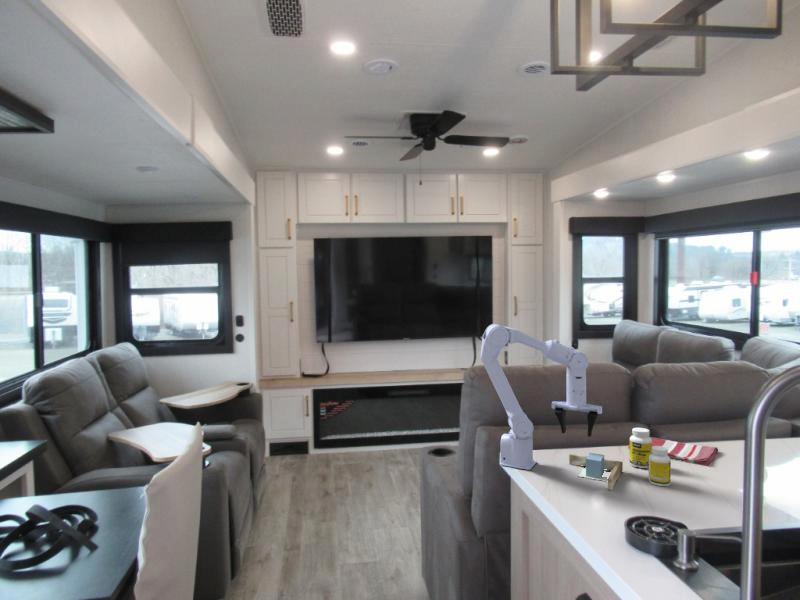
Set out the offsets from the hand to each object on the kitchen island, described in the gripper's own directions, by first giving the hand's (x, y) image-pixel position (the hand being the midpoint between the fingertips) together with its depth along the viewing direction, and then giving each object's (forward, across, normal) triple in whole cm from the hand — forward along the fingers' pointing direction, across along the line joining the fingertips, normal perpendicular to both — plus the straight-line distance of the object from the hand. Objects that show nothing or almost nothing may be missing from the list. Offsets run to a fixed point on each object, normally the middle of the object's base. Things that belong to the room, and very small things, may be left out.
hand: (576, 434), depth 156 cm
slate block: (+9, +6, -6) cm, 13 cm away
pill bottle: (+10, +17, +8) cm, 21 cm away
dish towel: (+10, +24, +27) cm, 38 cm away
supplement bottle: (+10, +23, -4) cm, 25 cm away
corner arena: (+9, +5, -8) cm, 14 cm away
